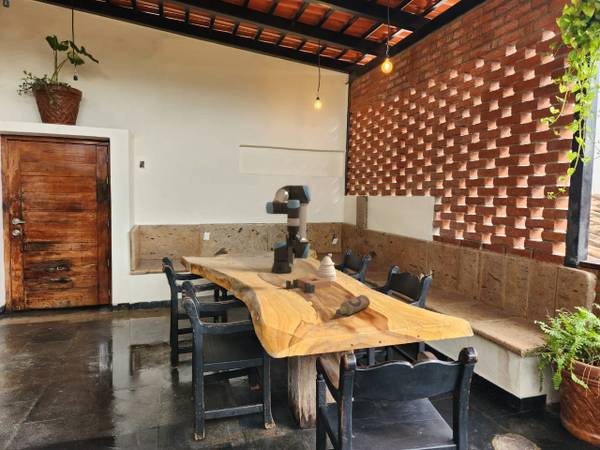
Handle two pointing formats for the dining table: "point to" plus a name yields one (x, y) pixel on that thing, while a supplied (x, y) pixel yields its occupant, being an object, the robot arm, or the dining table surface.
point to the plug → (290, 256)
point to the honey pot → (327, 269)
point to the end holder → (314, 282)
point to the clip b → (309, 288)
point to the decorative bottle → (353, 305)
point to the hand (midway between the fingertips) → (292, 262)
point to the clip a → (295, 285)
